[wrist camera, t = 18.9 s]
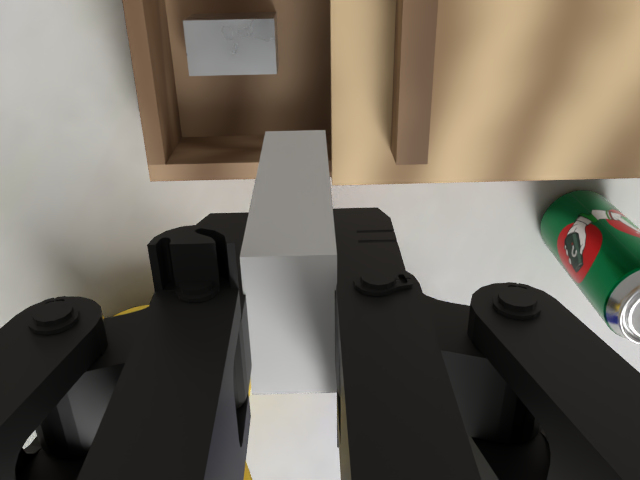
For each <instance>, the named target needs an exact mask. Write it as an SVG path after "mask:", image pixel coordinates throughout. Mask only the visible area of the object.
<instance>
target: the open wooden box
mask: <svg viewBox="0 0 640 480" xmlns="http://www.w3.org/2000/svg"><path fill="white" fill-rule="evenodd" d="M122 2H123V8H124V14H125V21H126V27H127V34H128V40H129V47H130V53H131V59H132V66H133V72H134V79H135V85H136V92H137V98H138V105H139V111H140V117H141V124H142V130H143V137H144V143H145V150H146V156H147V162H148V169H149V175H150V181H188V180H229V179H256V175H257V170H258V165H259V160H260V155H261V151H262V146H263V141H264V136H265V131H304V130H325V133H326V143H327V154H328V164H329V175H330V177H332V153H331V51H330V0H122ZM260 12H277V33H278V54H279V66H278V71H277V74H260V75H216V76H189V70H188V61H187V53H186V44H185V35H184V26H183V20H184V19H186V18H187V17H189V16H190V15H191V14H214V13H260Z"/></svg>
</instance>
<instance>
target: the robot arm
mask: <svg viewBox="0 0 640 480" xmlns="http://www.w3.org/2000/svg"><path fill="white" fill-rule="evenodd" d="M147 246H148V252H149V258H150V264H151V270H152V276H153V282H154V289H155V293H154V295H153V297H152V300H151V302H150V305H149V307H147V308H144V309H142V310H139V311H135V312H131V313H127V314H123V315H118V316H113V317H108V318H104V319H103V316H102V311H101V306H99V305H98V304H97V303H96V302H95V301H93V300H91V299H87V298H83V297H66V296H63V297H56V298H55V299H54V298H51V299H47V300H44V301H42V302H40V303H38V304H35V305H33V306H30V307H28V308H27V309H25V310H24V311H22V312H20V313H19V314H17V315H16V316H15V317H13V318H12V319H11V320H10V321H9V322H8V323H6V324H5V325H4V326H3V327H2V328H0V480H244V471H245V462H246V453H247V444H248V435H249V426H250V417H251V415H250V404H249V393H248V392H249V384H250V379H251V390H252V395H258V394H294V393H331V392H337V447H339V454H340V471H341V480H640V373H639V372H638V371H637V370H636V369H635V368H633V367H632V366H631V365H630V364H629V363H628V362H627V361H626V360H624V359H623V358H622V357H621V356H620V355H619V354H618V353H616V352H615V351H614V350H613V349H612V348H611V347H610V346H608V345H607V344H606V343H605V342H604V341H603V340H602V339H601V338H599V337H598V336H597V335H596V334H595V333H594V332H593V331H591V330H590V329H589V328H588V327H587V326H586V325H585V324H584V323H582V322H581V321H580V320H579V319H578V318H577V317H576V316H574V315H573V314H572V313H571V312H570V311H569V310H568V309H566V308H565V307H564V306H563V305H562V304H561V303H560V302H559V301H557V300H556V299H555V298H553V297H552V296H550V295H549V294H547V293H546V292H544V291H542V290H539V289H536V288H533V287H530V286H528V285H525V284H520V283H519V284H516V283H509V282H508V283H495V284H491V285H487V286H484V287H481V288H480V289H478V290H477V291H476V292H475V293H474V294H472V299H471V304H470V306H468V305H461V304H455V303H449V302H445V301H440V300H437V299H434V298H431V297H429V296H426V295H425V294H423V293H422V290H421V287H420V284H419V282H418V281H417V279H416V278H415V277H414V276H413V275H412V274H410V273H408V272H407V271H406V270H405V267H404V263H403V260H402V256H401V253H400V250H399V246H398V243H397V239H396V236H395V232H394V229H393V226H392V222H391V219H390V217H389V216H387V215H386V214H385V213H384V212H382V211H381V210H380V209H378V208H341V209H333V207H332V196H331V186H330V175H329V164H328V154H327V143H326V133H325V130H304V131H265V136H264V141H263V146H262V151H261V155H260V160H259V165H258V170H257V175H256V180H255V185H254V190H253V194H252V199H251V204H250V209H249V213H211V214H209V215H208V216H206V217H205V218H204V219H203V220H201V221H200V222H199V223H197V224H196V225H193V226H183V227H179V228H175V229H172V230H168V231H165V232H163V233H162V234H160V235H158V236H156V237H154V238H153V239H152V240H151V241H150V242H149V244H148V245H147ZM34 430H36V433H37V437H36V438H35V439H34V440H33V442H32V443H31V444H30V445H29V446H28V447H26V448H25V449H23V448H22V447H23V445H24V443H25V442H26V440H27V439H28V437H29V436H30V435H31V434H32V433H33V432H34Z"/></svg>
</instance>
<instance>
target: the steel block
mask: <svg viewBox="0 0 640 480" xmlns="http://www.w3.org/2000/svg"><path fill="white" fill-rule="evenodd" d="M183 26H184V35H185V44H186V53H187V61H188V70H189V76H216V75H260V74H277V71H278V66H279V54H278V33H277V12H260V13H214V14H191V15H190V16H189V17H187V18H186V19H184V20H183Z"/></svg>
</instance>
